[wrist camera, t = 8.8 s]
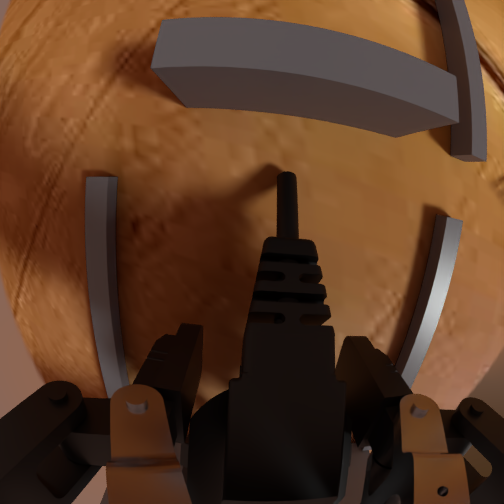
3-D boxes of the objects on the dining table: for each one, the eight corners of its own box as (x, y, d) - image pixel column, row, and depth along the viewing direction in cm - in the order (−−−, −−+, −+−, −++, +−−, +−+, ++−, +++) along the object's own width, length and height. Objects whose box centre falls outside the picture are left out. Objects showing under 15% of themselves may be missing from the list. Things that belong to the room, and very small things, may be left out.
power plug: (371, 173, 9) (378, 552, 3) (317, 266, 15) (311, 485, 10) (202, 154, 9) (158, 559, 3) (215, 258, 15) (195, 482, 10)
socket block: (96, 176, 10) (-118, 202, 1) (452, 218, 10) (624, 279, 1) (134, 459, 14) (101, 561, 5) (351, 472, 14) (379, 571, 5)
